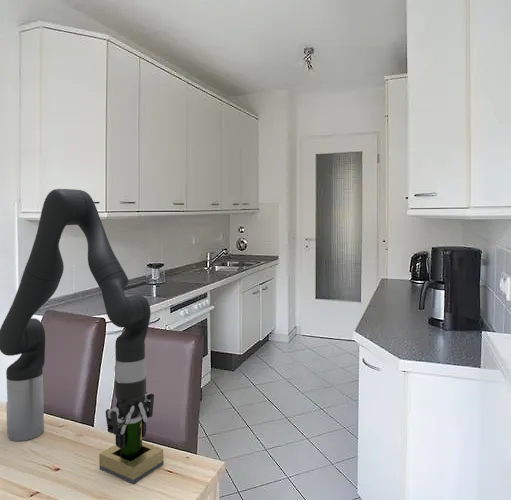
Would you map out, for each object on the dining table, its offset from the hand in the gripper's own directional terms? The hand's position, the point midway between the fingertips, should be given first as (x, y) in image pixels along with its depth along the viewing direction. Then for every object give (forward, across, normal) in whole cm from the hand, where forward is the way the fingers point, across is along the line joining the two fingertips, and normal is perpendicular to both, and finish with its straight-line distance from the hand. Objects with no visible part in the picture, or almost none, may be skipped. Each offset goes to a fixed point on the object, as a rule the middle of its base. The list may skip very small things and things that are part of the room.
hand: (131, 441), depth 111 cm
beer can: (+6, 0, 0) cm, 6 cm away
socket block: (+7, 0, 0) cm, 7 cm away
